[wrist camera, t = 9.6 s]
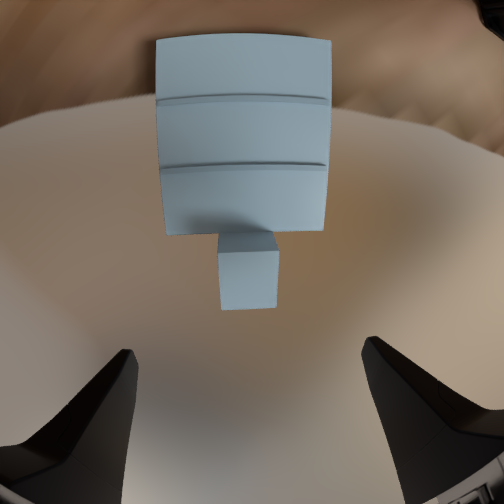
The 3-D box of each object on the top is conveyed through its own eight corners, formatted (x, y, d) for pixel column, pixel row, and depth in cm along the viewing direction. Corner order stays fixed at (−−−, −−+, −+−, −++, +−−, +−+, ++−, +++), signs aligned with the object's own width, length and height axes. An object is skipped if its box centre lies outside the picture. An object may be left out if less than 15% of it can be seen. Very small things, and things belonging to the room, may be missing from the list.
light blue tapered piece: (163, 47, 12) (143, 27, 8) (320, 47, 13) (348, 30, 9) (178, 272, 19) (168, 311, 15) (309, 267, 19) (327, 303, 16)
